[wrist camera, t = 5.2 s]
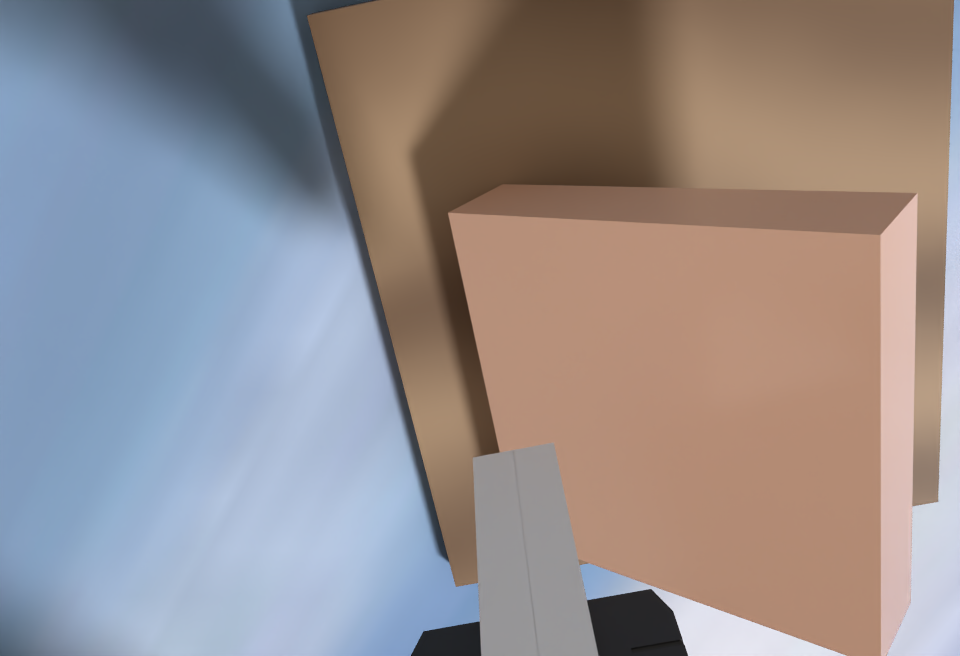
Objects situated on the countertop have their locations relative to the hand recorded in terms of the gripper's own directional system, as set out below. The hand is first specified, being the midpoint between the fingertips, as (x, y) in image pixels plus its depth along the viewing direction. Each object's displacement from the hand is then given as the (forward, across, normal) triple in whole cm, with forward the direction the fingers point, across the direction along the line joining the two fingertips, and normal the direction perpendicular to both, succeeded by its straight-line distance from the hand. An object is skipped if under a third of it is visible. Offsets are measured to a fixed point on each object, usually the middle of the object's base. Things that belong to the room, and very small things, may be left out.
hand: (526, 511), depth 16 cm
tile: (+6, 0, 0) cm, 6 cm away
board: (+7, -4, -1) cm, 9 cm away
